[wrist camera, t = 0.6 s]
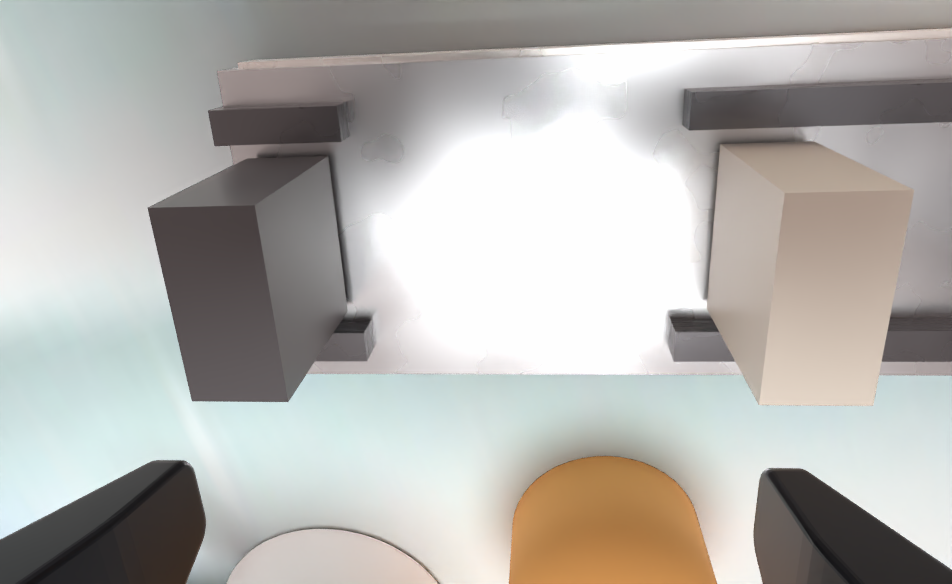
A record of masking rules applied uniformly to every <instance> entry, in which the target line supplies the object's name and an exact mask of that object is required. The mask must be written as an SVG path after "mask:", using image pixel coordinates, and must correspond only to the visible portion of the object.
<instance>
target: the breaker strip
mask: <svg viewBox="0 0 952 584" xmlns="http://www.w3.org/2000/svg"><path fill="white" fill-rule="evenodd" d="M217 75H218V80H219V86H220V91H221V97H222V103H223V106H222V107H219V108H215V109H212V110H209V111H208V113H209V118H210V124H211V129H212V134H213V140H214V145H215V146H230V148H231V153H232V159H233V164H234V165H235V164H237V163H239V162H241V161H243V160H245V159H247V158H278V157H311V156H328V159H329V167H330V175H331V182H332V190H333V198H334V206H335V214H336V222H337V230H338V238H339V246H340V254H341V261H342V269H343V277H344V285H345V293H346V301H347V309H348V311H347V313H346V314H345V316H344V318H343V319H342V321H341V322H340V324H339V325H338V327H337V328H336V330H335V331H334V333H333V334H332V336H331V337H330V339H329V340H328V342H327V343H326V345H325V347H324V348H323V350H322V351H321V353H320V354H319V356H318V357H317V359H316V360H315V362H314V363H313V365H312V366H311V368H310V369H309V371H308V372H307V374H619V375H742V373H741V371H740V369H739V367H738V365H737V364H736V362H735V360H734V358H733V356H732V354H731V353H730V351H729V349H728V347H727V345H726V343H725V341H724V340H723V338H722V336H721V334H720V332H719V330H718V329H717V327H716V325H715V323H714V321H713V319H712V318H711V316H710V314H709V312H708V310H707V297H708V285H709V273H710V261H711V249H712V237H713V225H714V213H715V201H716V189H717V177H718V165H719V153H720V144H737V143H770V142H803V141H815V142H817V143H819V144H821V145H823V146H825V147H827V148H829V149H831V150H833V151H835V152H837V153H839V154H841V155H843V156H845V157H848V158H850V159H852V160H854V161H856V162H858V163H860V164H862V165H864V166H866V167H868V168H870V169H872V170H874V171H876V172H878V173H880V174H883V175H885V176H887V177H889V178H891V179H893V180H895V181H897V182H899V183H901V184H903V185H905V186H907V187H909V188H911V189H913V190H914V195H913V200H912V205H911V210H910V216H909V221H908V226H907V231H906V236H905V242H904V247H903V252H902V257H901V263H900V268H899V273H898V278H897V283H896V289H895V294H894V299H893V304H892V310H891V315H890V320H889V325H888V330H887V336H886V341H885V346H884V351H883V357H882V362H881V367H880V372H879V375H952V28H942V29H920V30H898V31H876V32H854V33H832V34H810V35H788V36H766V37H744V38H722V39H700V40H679V41H657V42H635V43H613V44H591V45H569V46H547V47H525V48H503V49H481V50H459V51H437V52H415V53H393V54H371V55H350V56H328V57H306V58H284V59H262V60H250V61H244V62H238V67H236V68H231V69H225V70H220V71H217Z"/></svg>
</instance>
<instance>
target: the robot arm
mask: <svg viewBox="0 0 952 584" xmlns="http://www.w3.org/2000/svg"><path fill="white" fill-rule="evenodd" d="M205 529H206V517H205V512H204V508H203V504H202V500H201V496H200V492H199V488H198V484H197V480H196V476H195V472H194V469H193V467H192V466H191V464H189V463H188V462H186V461H181V460H156V461H152V462H149V463H147V464H145V465H143V466H141V467H139V468H138V469H136V470H134V471H132V472H130V473H128V474H126V475H124V476H122V477H120V478H118V479H116V480H114V481H112V482H111V483H109V484H107V485H105V486H103V487H101V488H99V489H97V490H95V491H93V492H91V493H89V494H87V495H85V496H84V497H82V498H80V499H78V500H76V501H74V502H72V503H70V504H68V505H66V506H64V507H62V508H60V509H58V510H57V511H55V512H53V513H51V514H49V515H47V516H45V517H43V518H41V519H39V520H37V521H35V522H33V523H31V524H30V525H28V526H26V527H24V528H22V529H20V530H18V531H16V532H14V533H12V534H10V535H8V536H6V537H4V538H3V539H1V540H0V584H186V582H187V580H188V577H189V575H190V572H191V569H192V567H193V564H194V562H195V559H196V557H197V554H198V551H199V549H200V546H201V544H202V541H203V538H204V534H205ZM754 546H755V552H756V557H757V561H758V565H759V569H760V574H761V578H762V582H763V584H952V570H951V569H950V568H948V567H947V566H946V565H944V564H943V563H941V562H940V561H938V560H937V559H935V558H934V557H932V556H931V555H929V554H928V553H926V552H925V551H924V550H922V549H921V548H919V547H918V546H916V545H915V544H913V543H912V542H910V541H909V540H907V539H906V538H904V537H903V536H902V535H900V534H899V533H897V532H896V531H894V530H893V529H891V528H890V527H888V526H887V525H885V524H884V523H882V522H881V521H880V520H878V519H877V518H875V517H874V516H872V515H871V514H869V513H868V512H866V511H865V510H863V509H862V508H861V507H859V506H858V505H856V504H855V503H853V502H852V501H850V500H849V499H847V498H846V497H844V496H843V495H841V494H840V493H839V492H837V491H836V490H834V489H833V488H831V487H830V486H828V485H827V484H825V483H824V482H822V481H821V480H819V479H818V478H817V477H815V476H814V475H812V474H811V473H809V472H807V471H806V470H803V469H798V468H768V469H766V470H764V471H763V472H762V474H761V477H760V481H759V488H758V497H757V505H756V514H755V522H754Z"/></svg>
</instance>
